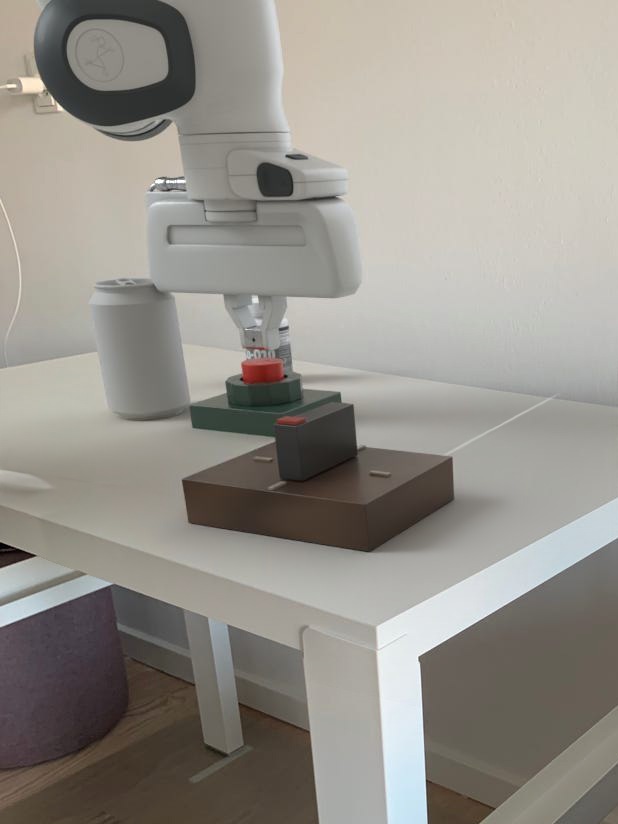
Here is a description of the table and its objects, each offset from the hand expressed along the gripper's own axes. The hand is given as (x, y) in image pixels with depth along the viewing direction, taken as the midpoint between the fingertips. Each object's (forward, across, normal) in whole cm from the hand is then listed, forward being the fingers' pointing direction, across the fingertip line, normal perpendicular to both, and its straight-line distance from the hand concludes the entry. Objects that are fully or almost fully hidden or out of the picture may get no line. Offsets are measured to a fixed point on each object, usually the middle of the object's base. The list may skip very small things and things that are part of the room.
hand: (261, 348), depth 88 cm
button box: (+6, 0, 0) cm, 6 cm away
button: (+3, 0, 0) cm, 3 cm away
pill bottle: (+7, -11, +15) cm, 20 cm away
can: (+7, -13, -1) cm, 15 cm away
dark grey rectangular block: (+3, +19, -19) cm, 27 cm away
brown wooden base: (+6, +19, -19) cm, 28 cm away
